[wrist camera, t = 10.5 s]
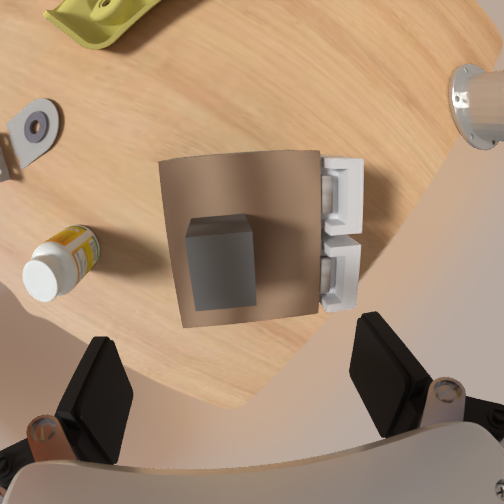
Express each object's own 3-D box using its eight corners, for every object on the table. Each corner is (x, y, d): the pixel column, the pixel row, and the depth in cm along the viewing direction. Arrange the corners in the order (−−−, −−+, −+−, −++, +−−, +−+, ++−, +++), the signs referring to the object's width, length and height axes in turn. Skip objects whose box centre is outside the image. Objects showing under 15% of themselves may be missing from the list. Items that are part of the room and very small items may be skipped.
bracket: (69, 137, 26) (54, 137, 23) (10, 179, 26) (-6, 184, 23) (53, 88, 24) (38, 84, 20) (-4, 134, 24) (-21, 135, 21)
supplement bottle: (109, 247, 30) (75, 285, 21) (84, 277, 31) (48, 320, 22) (77, 213, 29) (32, 239, 20) (53, 246, 29) (9, 279, 20)
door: (184, 320, 26) (178, 365, 21) (161, 161, 22) (142, 165, 16) (326, 304, 28) (351, 342, 22) (328, 150, 23) (364, 152, 17)
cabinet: (188, 287, 33) (181, 333, 24) (173, 158, 28) (155, 163, 20) (323, 273, 34) (354, 312, 26) (323, 149, 30) (363, 152, 21)
